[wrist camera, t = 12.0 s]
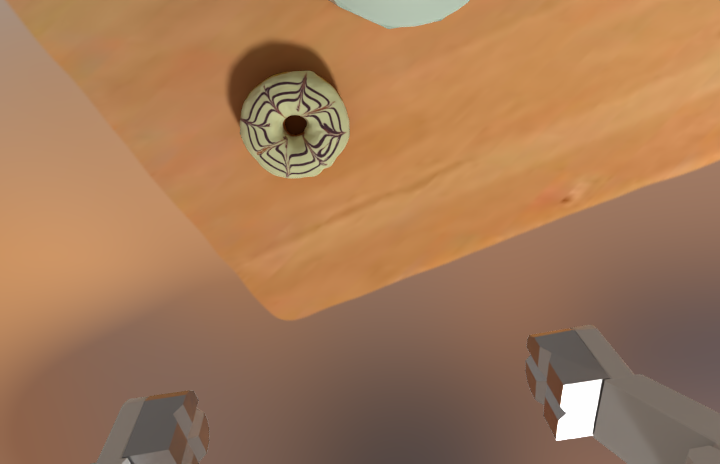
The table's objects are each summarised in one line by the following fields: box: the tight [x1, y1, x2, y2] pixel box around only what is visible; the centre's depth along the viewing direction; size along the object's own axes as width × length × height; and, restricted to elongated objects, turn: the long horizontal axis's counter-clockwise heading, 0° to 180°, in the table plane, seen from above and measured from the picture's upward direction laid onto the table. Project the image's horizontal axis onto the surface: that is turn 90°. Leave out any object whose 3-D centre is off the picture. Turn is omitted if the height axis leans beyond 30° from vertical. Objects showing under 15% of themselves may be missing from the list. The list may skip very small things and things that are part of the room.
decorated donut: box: [240, 71, 350, 178], centre depth 46 cm, size 10×11×4 cm
